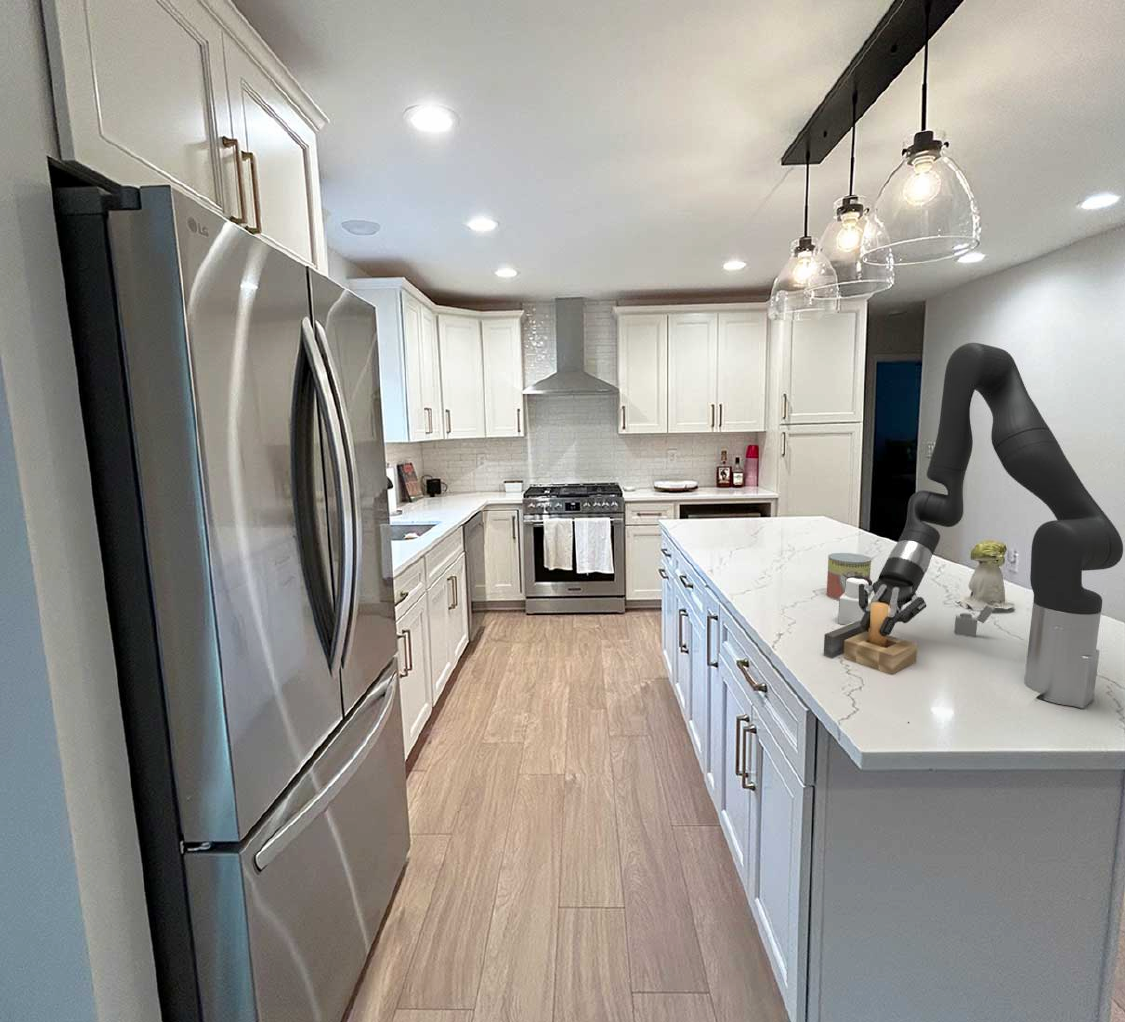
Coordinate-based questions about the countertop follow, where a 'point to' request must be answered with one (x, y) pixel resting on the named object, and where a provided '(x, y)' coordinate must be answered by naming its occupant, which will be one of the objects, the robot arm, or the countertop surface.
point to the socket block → (880, 653)
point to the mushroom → (987, 578)
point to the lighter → (971, 622)
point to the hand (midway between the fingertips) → (873, 631)
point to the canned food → (845, 571)
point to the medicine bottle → (852, 600)
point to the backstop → (840, 639)
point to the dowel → (877, 623)
